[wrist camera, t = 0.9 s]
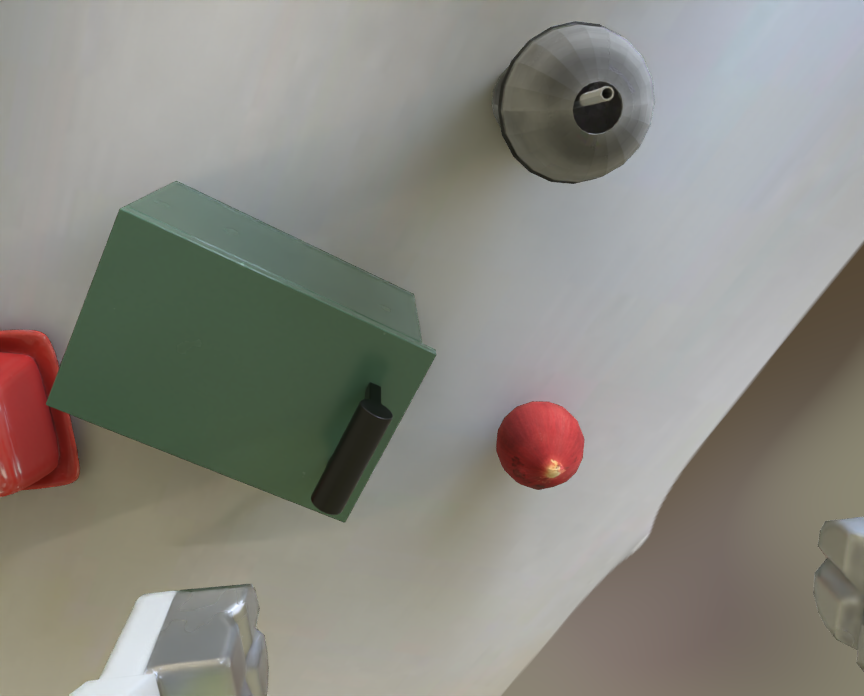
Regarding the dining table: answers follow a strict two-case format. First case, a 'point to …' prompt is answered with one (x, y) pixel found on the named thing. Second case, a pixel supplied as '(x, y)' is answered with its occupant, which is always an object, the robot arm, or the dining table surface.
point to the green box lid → (235, 368)
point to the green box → (282, 255)
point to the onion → (540, 445)
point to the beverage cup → (574, 102)
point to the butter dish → (32, 417)
